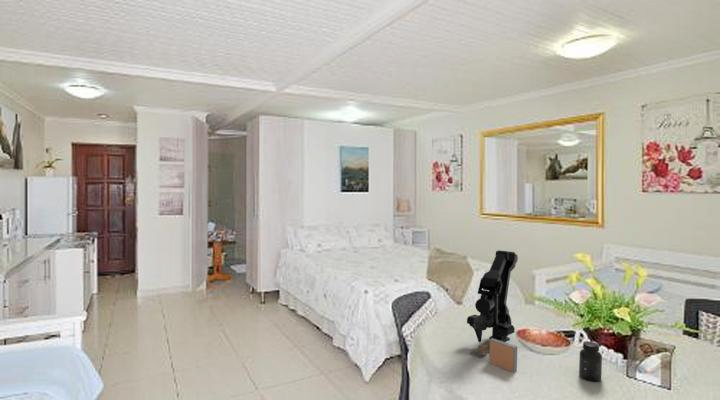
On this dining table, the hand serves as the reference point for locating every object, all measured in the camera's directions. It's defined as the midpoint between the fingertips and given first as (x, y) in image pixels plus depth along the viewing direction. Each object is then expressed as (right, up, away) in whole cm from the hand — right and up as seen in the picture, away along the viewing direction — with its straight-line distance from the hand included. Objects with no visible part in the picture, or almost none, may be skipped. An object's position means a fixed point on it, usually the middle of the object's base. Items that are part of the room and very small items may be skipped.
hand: (489, 345), depth 169 cm
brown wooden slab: (-2, -2, -2) cm, 4 cm away
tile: (0, -3, -16) cm, 16 cm away
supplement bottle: (+28, -3, -24) cm, 37 cm away
